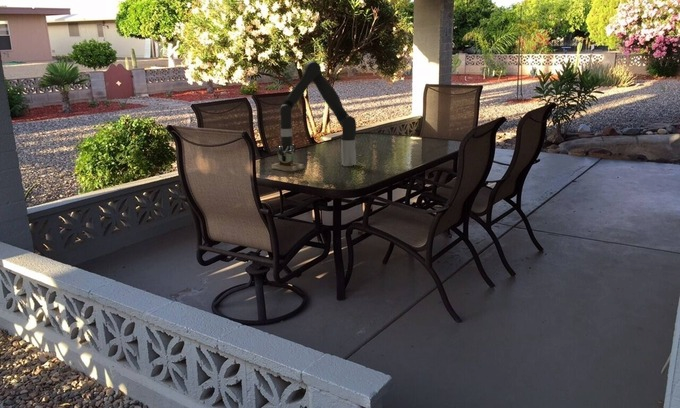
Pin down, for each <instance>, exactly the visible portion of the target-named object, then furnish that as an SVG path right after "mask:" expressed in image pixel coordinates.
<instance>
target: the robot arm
mask: <svg viewBox="0 0 680 408" xmlns="http://www.w3.org/2000/svg"><path fill="white" fill-rule="evenodd" d="M304 70H305V72H304V73H303V76H302V77H301V79H300V80H299V81H298V82H297V84H296V85H295V86H294V87H293V88H292V90H291V91H290V93H289V94H288V95H287V97H286V99H285V100H284V102H283V103H282V104H281V105H280V108H279V112H280V143H281V145H279V146H278V151H279V155H281V156H282V161H283V162H285V161H286V159H285V154H286V152H287V151H290V152H292V150H293V152H294V154H295V153H296V144H295V143H293V130H292V129H293V128H292V125H293V123H292V110H293V108H294V106H295V105H297V103H298V102H299V100H300V99H301V98H302V96H303V94H304V93H305V91H306V90H307V88H308V87H309V85H311V84H312V82H313V83H314V84H315V86H316V89H317V90H318V92H319V94H320V96H321V97H322V99H323V100H324V102H325V103H326V105H327V106H328V108H329V109H330V110H331V112H332V113H333V114H334V116H335V118H336V119H337V121H338V123H339V125H340V127H341V128H342V134H341V135H340V136H341V137H340V138H341V140H340V142H341V143H340V145H341V146H340V147H341V148H340V149H341V166H342V165H343V167H354V166H356V165H357V151H356V134H357V122H356V119H355V117H353V116H351V115H349V113H348V112H347V110H345V108H344V107H343V104H342V101H341V98H340V96H339V94H338V93H337V92H336V90H335V89H334V87H333V86H332V85H331V83H330V82H329V81H328V80H327V79H326V78H325V76H324V74H323V73H322V71H321V65H320V64H319V63H318V62H317V61H308V62H307V63H306V64H305V66H304ZM283 153H284V154H283ZM355 164H356V165H355ZM353 165H354V166H353Z"/></svg>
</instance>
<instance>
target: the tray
mask: <svg viewBox="0 0 680 408" xmlns="http://www.w3.org/2000/svg"><path fill="white" fill-rule="evenodd" d="M304 166H305V164H303V163H296V162H295V163H294V162H293V166H283V165H279V162H277V163H272V164H271V169H272V170H277V171H284V172H296V171H301V170H304V169H305V167H304Z"/></svg>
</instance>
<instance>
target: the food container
mask: <svg viewBox="0 0 680 408" xmlns="http://www.w3.org/2000/svg"><path fill="white" fill-rule="evenodd" d="M276 153H277V156H278V157H277V158H278V163H279V165H283V166H293V163H294V155H295V153H294V152H293V150H292V152H290V151H287V152H286V154H285V159H286V161H285V162H283V161H282V156H281V155H279V150H277V152H276ZM283 154H284V153H283Z"/></svg>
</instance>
